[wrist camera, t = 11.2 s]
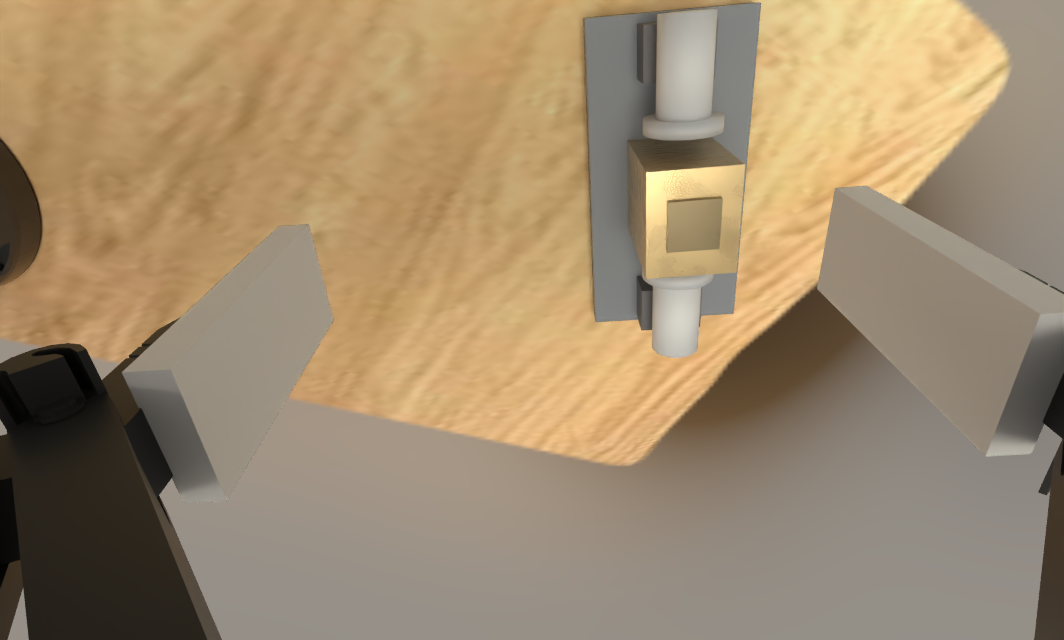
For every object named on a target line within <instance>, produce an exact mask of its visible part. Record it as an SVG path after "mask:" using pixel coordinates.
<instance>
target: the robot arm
mask: <svg viewBox="0 0 1064 640" xmlns="http://www.w3.org/2000/svg"><path fill="white" fill-rule="evenodd" d="M40 232H41V226H40V216H39V211H38V206H37V203H36V199H35V196H34V194H33V191H32V189H31V187H30V184H29V182H28V180H27V178H26V176H25V174H24V173H23V171H22V169H21V168H20V166H19V165H18V163H17V162H16V160H15V159H14V157H13V156H12V155H11V153H10V152H9V151H8V149H7V148H6V147H5V146H4V145H3V143H2V142H1V141H0V286H2V285H4V284H6V283H8V282H10V281H12V280H13V279H15V278H17V277H18V276H19V275H21V274H22V273H23V272H24V271H25V270H26V269H27V268H28V267H29V265H30V264H31V262H32V261H33V259H34V257H35V255H36V253H37V250H38V246H39V242H40ZM817 289H818V290H819V291H820V292H821V293H822V294H823V295H824V296H825V297H826V298H827V299H828V300H829V301H830V302H831V303H832V304H833V305H834V306H835V307H836V308H837V309H838V310H839V311H840V312H841V313H842V314H843V315H844V316H845V317H846V318H847V319H848V320H849V321H850V322H851V323H852V324H853V325H854V326H855V327H856V328H857V329H858V330H859V331H860V332H861V333H862V334H863V335H864V336H865V337H866V338H867V339H868V340H869V341H870V342H871V343H872V344H873V345H874V346H875V347H876V348H877V349H878V350H879V351H880V352H881V353H882V354H883V355H884V356H885V357H886V358H887V359H888V360H889V361H890V362H891V363H892V364H893V365H894V366H895V367H896V368H897V369H898V370H899V371H900V372H901V373H902V374H903V375H904V376H905V377H906V378H907V379H908V380H909V381H910V382H911V383H912V384H913V385H914V386H915V387H916V388H918V390H919V391H920V392H921V393H922V394H923V395H924V396H925V397H926V398H927V399H928V400H929V401H931V403H932V404H933V405H935V407H936V408H937V409H938V410H940V412H941V413H942V414H943V415H944V416H945V417H946V418H948V420H950V421H951V422H952V424H954V425H955V426H956V427H957V429H958V430H960V432H961V433H962V434H963V435H964V436H966V437H967V438H968V439H969V440H970V441H971V442H972V443H973V444H974V445H975V446H976V447H977V448H978V449H979V450H980V451H981V452H982V453H983V454H984V455H985V456H1000V455H1019V454H1031V453H1032V450H1033V448H1034V446H1035V444H1036V441H1037V439H1038V437H1039V434H1040V432H1041V430H1042V427H1043V425H1044V424H1045V425H1047V426H1048V427H1049V428H1050V429H1051V430H1053V431H1054V432H1055V433H1056V434H1058V435H1059V436H1060V437H1061V438H1062V442H1061V444H1060V446H1059V448H1058V450H1057V453H1056V455H1055V457H1054V459H1053V461H1052V463H1051V466H1050V468H1049V470H1048V472H1047V474H1046V476H1045V478H1044V481H1043V483H1042V485H1041V487H1040V490H1039V493H1042V494H1045V495H1047V494H1048V493H1049V491H1050V499H1049V508H1048V518H1047V527H1046V536H1045V545H1044V554H1043V564H1042V574H1041V582H1040V592H1039V601H1038V610H1037V619H1036V630H1035V638H1034V640H1064V292H1062V291H1060V290H1058V289H1057V288H1055V287H1053V286H1048V284H1047V283H1046V282H1044V281H1042V280H1040V279H1038V278H1036V277H1035V276H1033V275H1031V274H1029V273H1027V272H1025V271H1022V270H1019V269H1017V268H1015V267H1013V266H1011V265H1009V264H1007V263H1006V262H1004V261H1002V260H1000V259H999V258H997V257H995V256H993V255H991V254H989V253H988V252H986V251H984V250H982V249H980V248H978V247H977V246H975V245H973V244H971V243H969V242H968V241H966V240H964V239H962V238H960V237H959V236H957V235H955V234H953V233H951V232H950V231H948V230H946V229H944V228H942V227H940V226H938V225H937V224H935V223H933V222H931V221H930V220H928V219H926V218H924V217H922V216H920V215H919V214H917V213H915V212H913V211H911V210H909V209H908V208H906V207H904V206H902V205H901V204H899V203H897V202H895V201H893V200H891V199H890V198H888V197H886V196H884V195H882V194H881V193H879V192H877V191H875V190H873V189H872V188H870V187H868V186H856V187H841V188H835V192H834V197H833V203H832V209H831V214H830V220H829V225H828V231H827V236H826V242H825V248H824V253H823V259H822V264H821V270H820V276H819V281H818V287H817ZM333 320H334V319H333V316H332V312H331V308H330V304H329V300H328V296H327V292H326V289H325V285H324V281H323V277H322V273H321V269H320V265H319V262H318V258H317V254H316V250H315V246H314V242H313V238H312V234H311V231H310V227H309V224H304V225H289V226H278V227H277V228H276V229H275V230H274V231H273V232H272V233H271V234H270V235H269V236H268V237H267V238H266V239H265V240H263V241H262V242H261V243H260V244H259V245H258V246H257V247H256V248H255V249H254V250H253V251H252V252H251V253H249V254H248V255H247V256H246V257H245V258H244V259H243V260H242V261H241V262H240V263H239V264H238V265H237V266H236V267H234V268H233V269H232V270H231V271H230V272H229V273H228V274H227V275H226V276H225V277H224V278H223V279H222V280H220V281H219V282H218V283H217V284H216V285H215V286H214V287H213V288H212V289H211V290H210V291H209V292H208V293H207V294H205V295H204V296H203V297H202V298H201V299H200V300H199V301H198V302H197V303H196V304H195V305H194V306H193V307H191V308H190V309H189V310H188V311H187V312H186V313H185V314H184V315H183V316H182V317H180V318H178V319H177V320H175V321H173V322H171V323H169V324H167V325H166V326H164V327H162V328H160V329H158V330H157V331H156V332H155V333H154V334H152V335H151V336H150V337H149V338H148V339H147V340H146V341H145V342H144V343H143V344H142V347H138V348H137V349H136V350H135V351H134V352H133V353H132V354H130V355H129V358H127V359H125V360H124V361H123V362H122V363H120V364H119V365H118V366H117V367H116V368H115V369H114V370H113V371H112V372H111V373H109V374H108V375H107V376H106V377H105V378H104V379H103V380H101V378H100V376H99V374H98V372H97V370H96V368H95V366H94V364H93V362H92V360H91V358H90V356H89V354H88V352H87V350H86V349H85V348H84V347H83V346H81V345H80V344H70V343H66V344H57V345H50V346H46V347H42V348H38V349H34V350H31V351H28V352H25V353H23V354H20V355H18V356H15V357H12V358H10V359H8V360H6V361H4V362H3V363H1V364H0V419H1V421H2V423H3V424H4V426H5V428H6V429H7V434H6V435H2V436H0V640H7V639H8V636H9V632H10V629H11V626H12V622H13V619H14V616H15V612H16V609H17V606H18V602H19V599H20V596H21V592H22V589H23V588H24V597H25V607H26V616H27V626H28V635H29V640H222V639H221V637H220V634H219V632H218V630H217V627H216V625H215V623H214V620H213V618H212V616H211V613H210V611H209V609H208V606H207V604H206V602H205V599H204V597H203V595H202V592H201V590H200V587H199V585H198V583H197V580H196V578H195V576H194V574H193V571H192V569H191V566H190V564H189V562H188V560H187V557H186V555H185V553H184V550H183V548H182V545H181V543H180V541H179V538H178V536H177V534H176V531H175V529H174V527H173V524H172V522H171V520H170V517H169V515H168V513H167V510H166V508H165V506H164V504H163V502H162V500H161V498H160V496H159V494H160V493H161V492H162V490H163V489H164V488H165V486H166V485H167V483H168V482H169V481H170V479H171V478H172V479H173V481H174V483H175V485H176V488H177V490H178V492H179V494H180V496H181V498H182V500H183V502H184V503H194V502H195V503H196V502H213V501H227V500H228V498H229V496H230V495H231V493H232V491H233V489H234V488H235V486H236V484H237V483H238V481H239V479H240V478H241V476H242V474H243V472H244V471H245V469H246V468H247V466H248V464H249V462H250V461H251V459H252V457H253V456H254V454H255V452H256V450H257V449H258V447H259V446H260V444H261V442H262V440H263V439H264V437H265V435H266V434H267V432H268V430H269V429H270V427H271V425H272V423H273V421H274V420H275V418H276V417H277V415H278V413H279V411H280V410H281V408H282V407H283V405H284V403H285V402H286V400H287V398H288V397H289V395H290V393H291V391H292V390H293V388H294V386H295V385H296V383H297V381H298V380H299V378H300V376H301V375H302V373H303V371H304V369H305V368H306V366H307V364H308V363H309V361H310V359H311V358H312V356H313V354H314V353H315V351H316V349H317V347H318V346H319V344H320V342H321V341H322V339H323V337H324V336H325V334H326V332H327V331H328V329H329V327H330V326H331V324H332V322H333Z"/></svg>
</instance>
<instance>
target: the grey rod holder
mask: <svg viewBox="0 0 1064 640" xmlns="http://www.w3.org/2000/svg"><path fill="white" fill-rule="evenodd" d="M760 9H761V3H744V4H733V5H722V6H711V7H700V8H689V9H677V10H666V11H655V12H644V13H633V14H622V15H611V16H600V17H589V18H584V45H585V73H586V100H587V128H588V156H589V184H590V211H591V239H592V267H593V294H594V315H595V321H596V322H606V321H623V320H639V323H640V327H641V330H652V348H653V350H654V351H655V352H657V353H658V354H660V355H663V356H666V357H672V358H681V357H687V356H690V355H692V354H694V353H695V352H696V351H697V349H698V335H699V327H700V319H701V316H703V315H719V314H734V303H735V292H736V280H737V273H723V274H709V275H695V276H681V277H667V278H653V279H646V278H645V275H644V272H643V269H642V267H641V264H640V261H639V259H638V256H637V253H636V250H635V248H634V245H633V242H632V239H631V237H630V234H629V231H628V163H627V140H637V139H649V138H652V139H658V140H695V139H703V138H709V137H712V138H714V139H715V140H716V141H717V142H718V143H720V144H721V145H722V146H723V147H725V148H726V149H727V150H728V151H730V152H731V153H732V154H733V155H734V156H736V157H737V158H738V159H739V160H741V161H742V162H743V163H744V164H745V175H744V187H743V200H742V212H741V224H742V213H743V201H744V190H745V179H746V167H747V156H748V145H749V134H750V122H751V111H752V100H753V88H754V77H755V66H756V55H757V43H758V32H759V21H760ZM741 224H740V235H741ZM739 246H740V237H739ZM738 258H739V249H738ZM737 269H738V261H737Z"/></svg>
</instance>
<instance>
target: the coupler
mask: <svg viewBox="0 0 1064 640" xmlns="http://www.w3.org/2000/svg"><path fill="white" fill-rule="evenodd" d="M627 163H628V231H629V234H630V237H631V239H632V242H633V245H634V248H635V250H636V253H637V256H638V259H639V261H640V264H641V267H642V269H643V272H644V275H645V278H646V279H653V278H667V277H681V276H695V275H709V274H723V273H737V261H738V249H739V237H740V224H741V212H742V200H743V187H744V175H745V164H744V163H743V162H742V161H741V160H739V159H738V158H737V157H736V156H734V155H733V154H732V153H731V152H730V151H728V150H727V149H726V148H725V147H723V146H722V145H721V144H720V143H718V142H717V141H716V140H715V139H714V138H712V137H709V138H703V139H695V140H658V139H652V138H649V139H637V140H627Z"/></svg>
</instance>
